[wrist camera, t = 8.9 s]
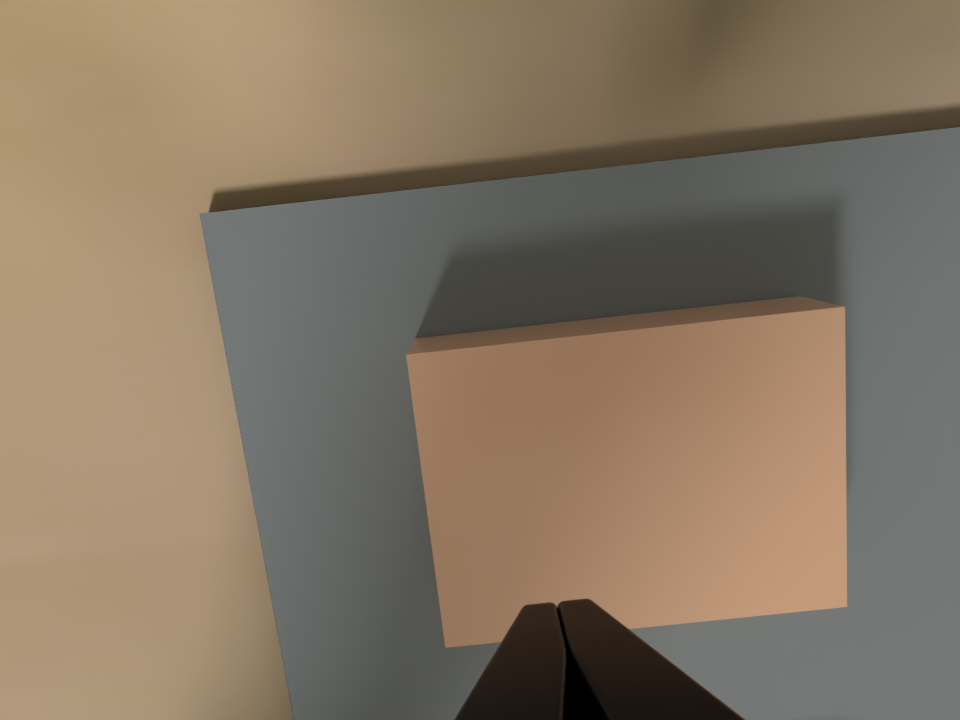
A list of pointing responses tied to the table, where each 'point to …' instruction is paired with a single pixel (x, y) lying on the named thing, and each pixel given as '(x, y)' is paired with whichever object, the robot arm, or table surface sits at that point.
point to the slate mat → (589, 295)
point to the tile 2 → (637, 465)
